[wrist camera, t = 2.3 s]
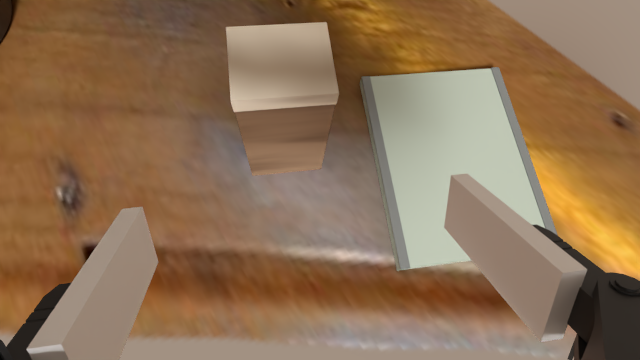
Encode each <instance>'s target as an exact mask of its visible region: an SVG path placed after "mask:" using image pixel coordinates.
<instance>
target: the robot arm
mask: <svg viewBox="0 0 640 360" xmlns="http://www.w3.org/2000/svg"><path fill="white" fill-rule="evenodd" d="M11 15H12V2H11V0H0V41H1V39H2V38H3V36H4V35H5V33H6V31H7V29H8V26H9V23H10V20H11ZM444 228H445V229H446V230H447V231H448V233H449V234H450V235H451V236H452V237H453V239H454V240H455V241H456V242H457V243H458V245H459V246H460V247H461V248H462V249H463V250H464V252H465V253H466V254H467V255H468V256H469V258H470V259H471V260H472V261H473V262H474V264H475V265H476V266H477V267H478V268H479V270H480V271H481V272H482V273H483V274H484V276H485V277H486V278H487V279H488V280H489V281H490V283H491V284H492V285H493V286H494V287H495V289H496V290H497V291H498V292H499V293H500V295H501V296H502V297H503V298H504V299H505V301H506V302H507V303H508V304H509V305H510V306H511V308H512V309H513V310H514V311H515V312H516V314H517V315H518V316H519V317H520V318H521V320H522V321H523V322H524V323H525V324H526V326H527V327H528V328H529V329H530V330H531V331H532V333H533V334H534V335H535V336H536V337H537V339H538V340H539V341H540V342H544V341H550V340H556V339H562V338H563V336H564V333H565V330H566V328H567V325H569V326H570V327H571V328H572V329H573V330H574V331H575V332H576V333H577V335H576V338H575V341H574V343H573V346H572V348H571V351H570V354H569V356H568V359H569V360H572V359H573V357H574V360H640V281H638V280H637V279H635V278H632V277H629V276H626V275H624V274H618V273H605V272H604V271H603V270H601V269H600V268H599V267H598V266H596V265H595V264H594V263H592V262H591V261H590V260H588V259H587V258H586V257H585V256H583V255H582V254H581V253H579V252H578V251H577V250H575V249H572V247H571V246H570V245H569V244H568V243H566V242H563V240H562V239H561V238H560V237H558V236H557V235H556V234H554V233H553V232H552V231H550V230H548V229H546V228H543V227H541V226H539V225H537V224H536V225H531V224H530V223H529V222H527V221H526V220H525V219H524V218H522V217H521V216H520V215H519V214H517V213H516V212H515V211H514V210H512V209H511V208H510V207H509V206H507V205H506V204H505V203H504V202H502V201H501V200H500V199H499V198H497V197H496V196H495V195H494V194H492V193H491V192H490V191H489V190H487V189H486V188H485V187H483V186H482V185H481V184H480V183H478V182H477V181H476V180H475V179H473V178H472V177H471V176H470V175H468V174H457V175H451V179H450V186H449V194H448V202H447V209H446V217H445V224H444ZM157 264H158V259H157V256H156V252H155V249H154V245H153V242H152V238H151V235H150V232H149V228H148V225H147V221H146V218H145V214H144V211H143V208H142V207H136V208H127V209H122V210H121V212H120V213H119V214H118V216H117V217H116V219H115V220H114V222H113V223H112V225H111V226H110V228H109V229H108V231H107V232H106V233H105V235H104V236H103V238H102V239H101V241H100V242H99V244H98V245H97V247H96V248H95V249H94V251H93V252H92V254H91V255H90V257H89V258H88V260H87V261H86V263H85V264H84V266H83V267H82V268H81V270H80V271H79V273H78V274H77V276H76V277H75V279H74V280H73V282H72V283H67V284H59V285H58V286H57V287H55V288H54V289H53V290H52V291H50V292H49V293H48V294H47V295H45V296H44V297H43V298H42V300H41V301H40V303H39V304H38V305H37V307H36V308H35V309H34V312H33V313H31V315H30V316H29V317H28V319H27V320H26V323H25V324H23V325H22V327H21V328H20V329H19V331H18V332H17V333H16V335H15V336H14V337H13V339H12V340H11V341H10V343H9V344H8V345H7V347H6V346H5V345H4V343H3V341H1V340H0V360H119V359H120V356H121V354H122V351H123V348H124V346H125V344H126V341H127V339H128V336H129V334H130V331H131V329H132V326H133V324H134V321H135V319H136V316H137V314H138V311H139V309H140V306H141V304H142V301H143V299H144V296H145V294H146V291H147V289H148V286H149V284H150V281H151V279H152V276H153V274H154V271H155V269H156V266H157Z"/></svg>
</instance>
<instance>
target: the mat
mask: <svg viewBox="0 0 640 360" xmlns="http://www.w3.org/2000/svg"><path fill="white" fill-rule="evenodd" d="M360 87H361V92H362V98H363V103H364V108H365V113H366V118H367V123H368V128H369V133H370V138H371V143H372V148H373V153H374V158H375V163H376V168H377V173H378V178H379V183H380V188H381V193H382V198H383V203H384V208H385V213H386V218H387V223H388V228H389V233H390V238H391V243H392V248H393V253H394V258H395V263H396V268H397V271H398V270H406V269H413V268H420V267H428V266H435V265H442V264H450V263H457V262H465V261H472V260H471V259H470V258H469V256H468V255H467V254H466V253H465V252H464V250H463V249H462V248H461V247H460V246H459V245H458V243H457V242H456V241H455V240H454V239H453V237H452V236H451V235H450V234H449V233H448V231H447V230H446V229H445V228H444V224H445V217H446V209H447V202H448V194H449V186H450V179H451V175H457V174H468V175H470V176H471V177H472V178H473V179H475V180H476V181H477V182H478V183H480V184H481V185H482V186H483V187H485V188H486V189H487V190H489V191H490V192H491V193H492V194H494V195H495V196H496V197H497V198H499V199H500V200H501V201H502V202H504V203H505V204H506V205H507V206H509V207H510V208H511V209H512V210H514V211H515V212H516V213H517V214H519V215H520V216H521V217H522V218H524V219H525V220H526V221H527V222H529V223H530V224H531V225H536V224H537V225H539V226H541V227H543V228H546V229H548V230H550V231H552V232H553V233H554V234H556V235H557V232H556V229H555V226H554V224H553V221H552V218H551V215H550V212H549V209H548V206H547V204H546V201H545V198H544V195H543V192H542V189H541V187H540V184H539V181H538V178H537V175H536V172H535V169H534V167H533V164H532V161H531V158H530V155H529V152H528V149H527V147H526V144H525V141H524V138H523V135H522V132H521V129H520V127H519V124H518V121H517V118H516V115H515V112H514V109H513V107H512V104H511V101H510V98H509V95H508V92H507V89H506V87H505V84H504V81H503V78H502V75H501V72H500V69H499V67H495V68H489V69H474V70H460V71H445V72H431V73H416V74H401V75H387V76H372V77H370V76H363V77H362V78H361V81H360ZM557 236H558V235H557Z"/></svg>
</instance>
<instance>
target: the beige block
mask: <svg viewBox="0 0 640 360" xmlns="http://www.w3.org/2000/svg"><path fill="white" fill-rule="evenodd" d="M226 35H227V51H228V67H229V83H230V99H231V104H232V108H233V111H234V112H235V115H236V118H237V122H238V125H239V129H240V132H241V136H242V140H243V143H244V147H245V150H246V154H247V157H248V161H249V165H250V168H251V172H252V175H253V176H255V175H265V174H275V173H285V172H296V171H306V170H316V169H321V166H322V162H323V157H324V153H325V148H326V144H327V140H328V135H329V131H330V126H331V122H332V117H333V113H334V108H335V104H337V100H338V96H339V90H338V84H337V78H336V73H335V67H334V61H333V56H332V50H331V44H330V39H329V33H328V27H327V22H318V23H297V24H277V25H257V26H236V27H226Z"/></svg>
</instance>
